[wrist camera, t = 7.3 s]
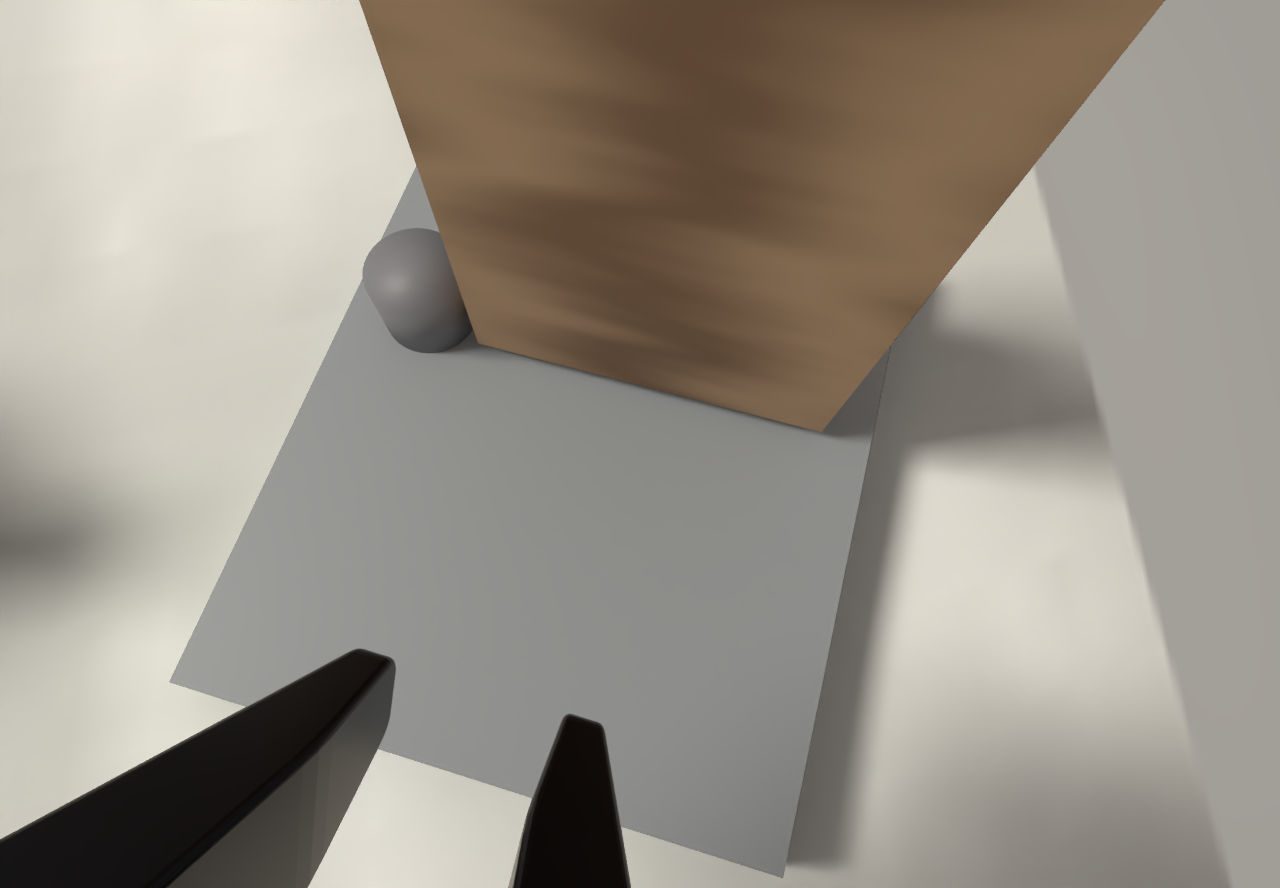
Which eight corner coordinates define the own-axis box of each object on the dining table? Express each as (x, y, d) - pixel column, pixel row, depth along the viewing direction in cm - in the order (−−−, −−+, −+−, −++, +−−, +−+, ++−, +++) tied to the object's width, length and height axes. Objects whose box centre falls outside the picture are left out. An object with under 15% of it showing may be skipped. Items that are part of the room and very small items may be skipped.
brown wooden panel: (477, 343, 19) (203, -448, 6) (496, 292, 20) (281, -539, 7) (821, 432, 19) (1326, -203, 6) (831, 378, 19) (1317, -319, 6)
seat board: (768, 864, 18) (838, 930, 12) (203, 684, 18) (43, 675, 13) (890, 283, 23) (975, 158, 18) (446, 160, 23) (400, 5, 18)
